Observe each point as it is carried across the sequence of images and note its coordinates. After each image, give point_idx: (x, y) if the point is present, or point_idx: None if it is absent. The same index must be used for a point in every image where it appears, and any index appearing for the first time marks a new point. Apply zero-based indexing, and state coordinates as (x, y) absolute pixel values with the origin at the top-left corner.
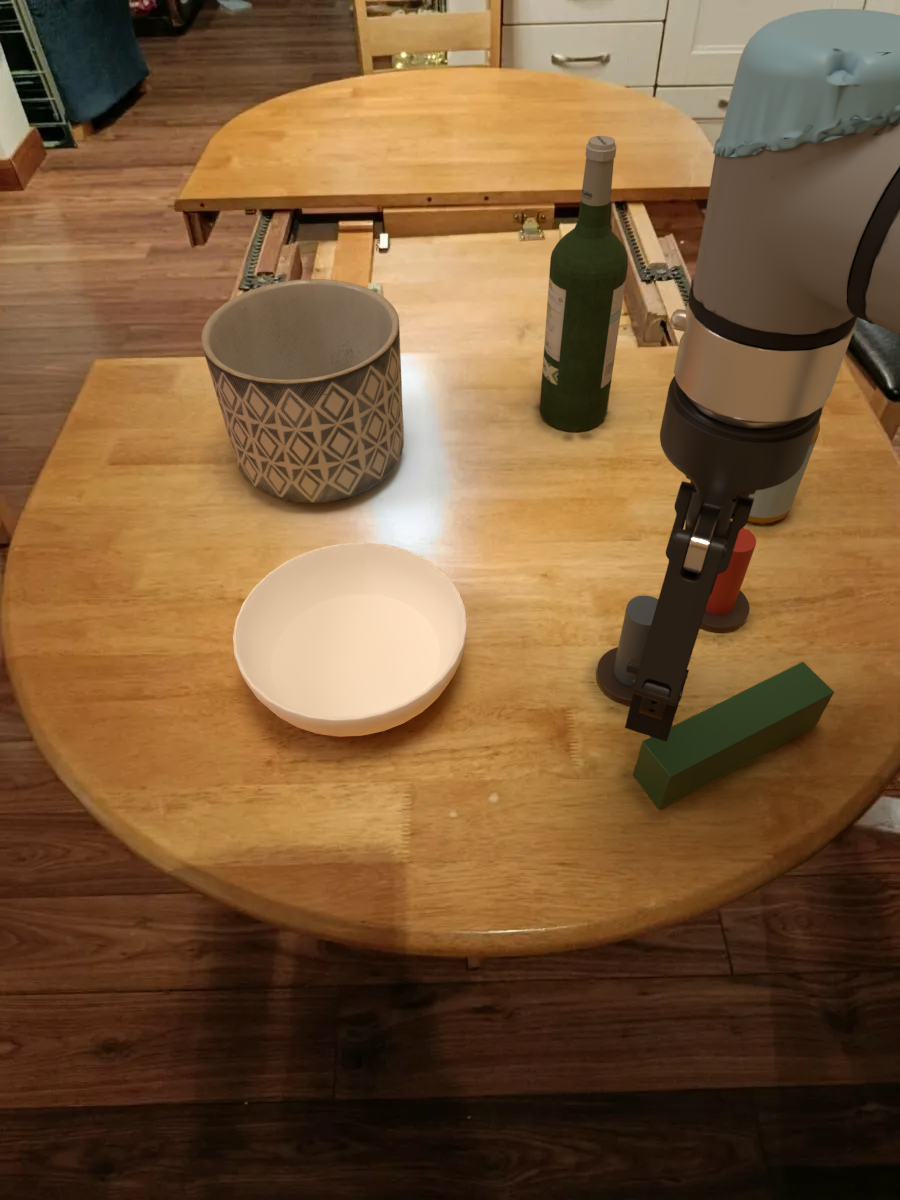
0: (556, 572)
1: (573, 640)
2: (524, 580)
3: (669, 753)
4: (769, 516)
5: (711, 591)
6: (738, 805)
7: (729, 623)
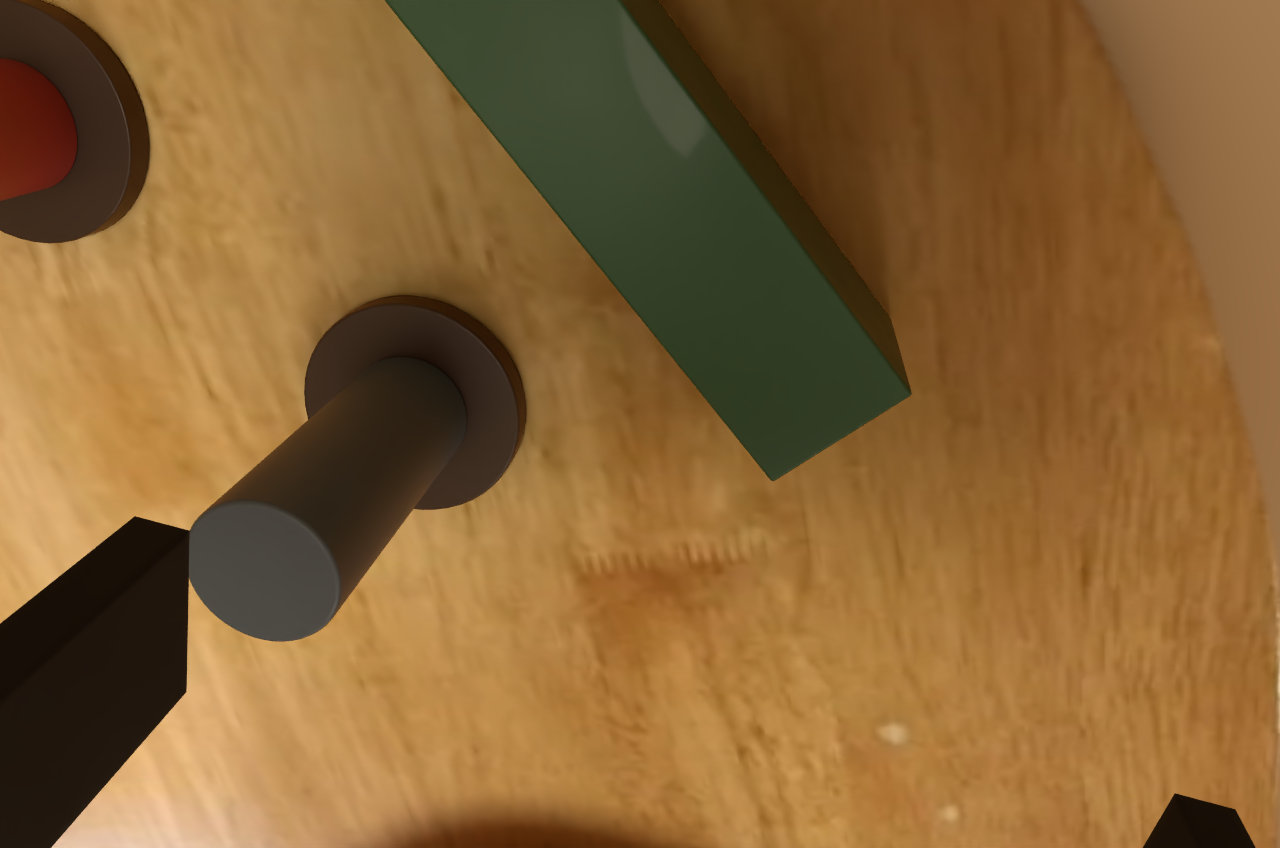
0: None
1: None
2: None
3: (812, 395)
4: None
5: (176, 545)
6: (847, 62)
7: (95, 79)
